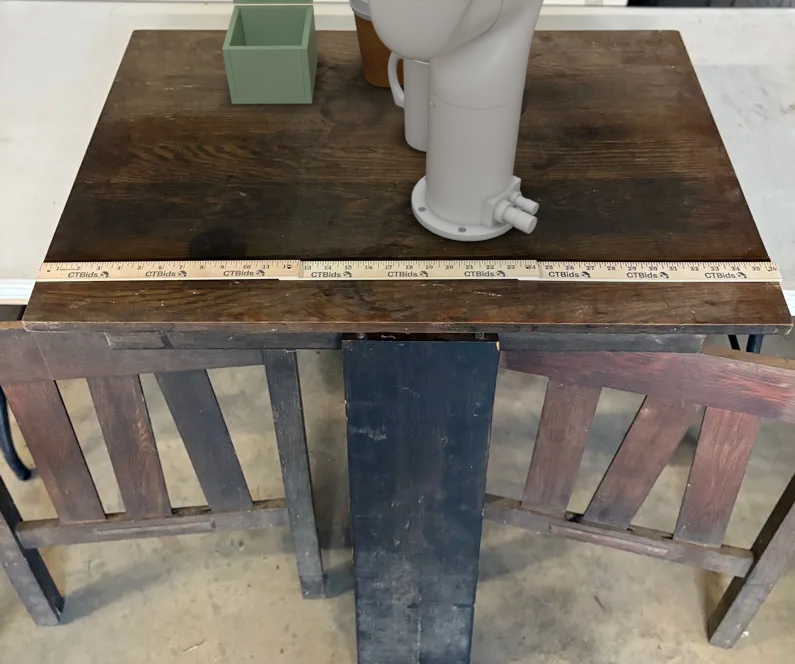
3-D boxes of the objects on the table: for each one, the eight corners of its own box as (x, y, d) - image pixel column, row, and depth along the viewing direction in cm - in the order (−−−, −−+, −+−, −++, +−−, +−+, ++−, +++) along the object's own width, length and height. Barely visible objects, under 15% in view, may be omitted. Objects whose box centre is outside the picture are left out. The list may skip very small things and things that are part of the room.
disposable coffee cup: (348, 92, 107) (343, 5, 98) (356, 56, 113) (353, -29, 104) (419, 95, 106) (421, 8, 97) (423, 58, 113) (425, -27, 104)
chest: (312, 103, 105) (307, 48, 99) (231, 104, 105) (222, 49, 99) (317, 58, 113) (313, 4, 107) (242, 58, 113) (234, 5, 107)
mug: (468, 136, 100) (474, 46, 91) (434, 160, 97) (437, 70, 88) (406, 107, 105) (406, 19, 96) (372, 130, 101) (369, 41, 92)
